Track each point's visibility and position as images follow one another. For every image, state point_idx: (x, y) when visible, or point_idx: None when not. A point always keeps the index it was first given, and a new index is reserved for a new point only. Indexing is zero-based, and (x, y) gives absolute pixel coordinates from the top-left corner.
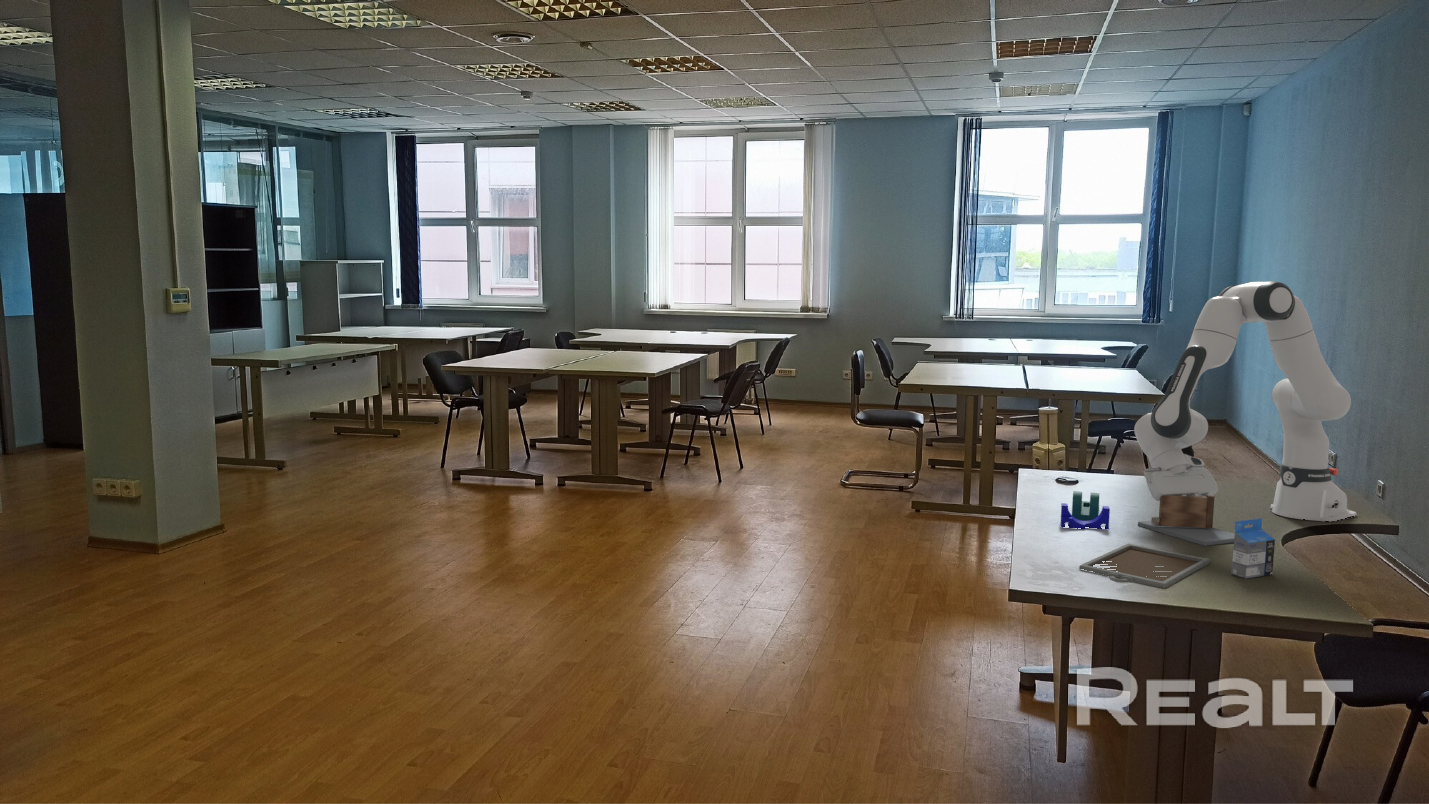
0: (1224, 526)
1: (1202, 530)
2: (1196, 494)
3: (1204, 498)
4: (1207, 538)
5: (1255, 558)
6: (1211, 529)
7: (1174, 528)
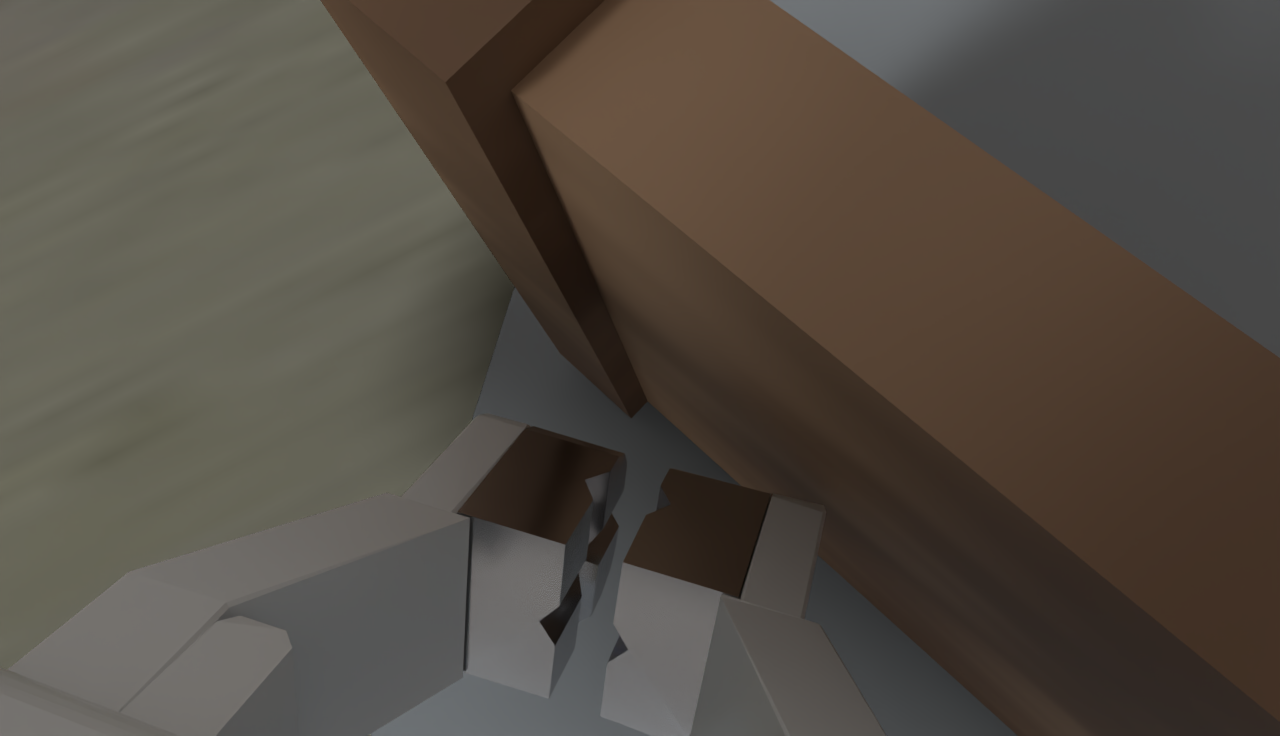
0: (68, 417)
1: None
2: (119, 703)
3: (766, 25)
4: (1267, 23)
5: None
6: None
7: None
